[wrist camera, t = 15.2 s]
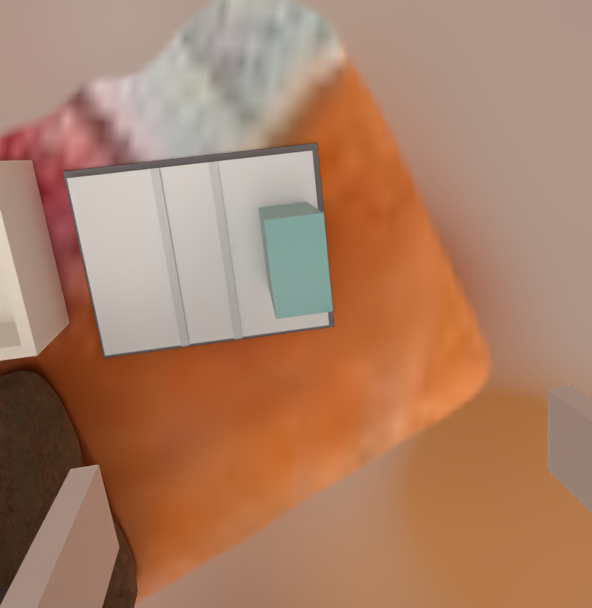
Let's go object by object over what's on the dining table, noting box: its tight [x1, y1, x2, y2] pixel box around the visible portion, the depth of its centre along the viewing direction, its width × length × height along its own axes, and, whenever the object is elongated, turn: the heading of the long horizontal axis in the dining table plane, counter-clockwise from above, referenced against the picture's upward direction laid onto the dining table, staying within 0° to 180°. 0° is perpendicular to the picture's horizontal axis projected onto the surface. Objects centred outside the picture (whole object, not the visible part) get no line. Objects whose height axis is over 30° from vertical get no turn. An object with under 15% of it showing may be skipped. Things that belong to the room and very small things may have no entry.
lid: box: [67, 151, 333, 356], centre depth 36 cm, size 17×13×9 cm
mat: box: [63, 143, 334, 358], centre depth 41 cm, size 18×14×1 cm
